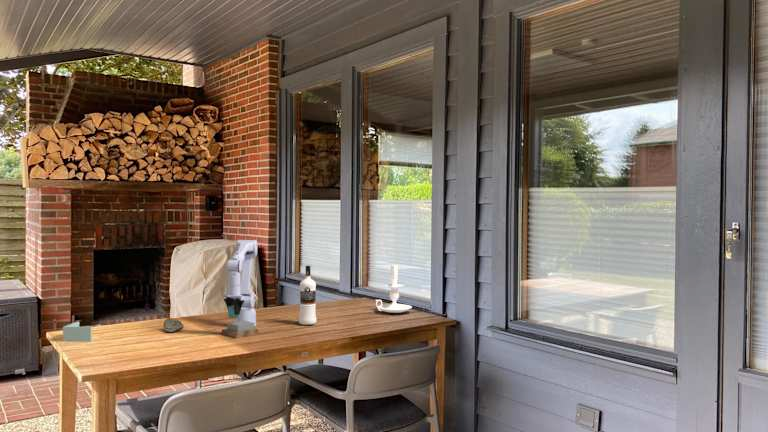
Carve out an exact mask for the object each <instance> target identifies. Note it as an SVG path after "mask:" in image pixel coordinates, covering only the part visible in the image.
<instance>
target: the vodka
mask: <svg viewBox="0 0 768 432" xmlns="http://www.w3.org/2000/svg"><path fill="white" fill-rule="evenodd" d="M311 267H312V266H311V265H305V278H304V279H302V280H301V281H300V283H299V317H298V324H300V325H305V326H309V325H310V326H311V325H315V324H316V323H317V321H318V320H317V319H318V318H317V315H316V310H317V309H316V308H317V307H316V305H317V304H316V299H317V298H316V295H317V294H316V291H317V289H316V287H317V282H316V281H315V280H314V279H312V278H311V277H312V276H311Z"/></svg>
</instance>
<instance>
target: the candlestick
mask: <svg viewBox="0 0 768 432" xmlns="http://www.w3.org/2000/svg"><path fill="white" fill-rule="evenodd" d="M390 268H391V276H390V277H391V280H390V282H391V283H387V284H384V286H385V287H386V288H387V287H388V288H390V289H391V290H390V292H389V299H390V300H391V301H392V302H391V303H383V301H382V299H375V307H376V308H377V311H379V312H384V313H390V314H400V313H405V312H408V311H409V310H410V309H412V308H413V306H412V305H409V304H404V303H403V304H402V303H397V301H398V299H399V298H400V293H399V291H398V288H402V287H404V286H405V284H399V283H398V278H399V277H398V276H399V275H398V274H399V272H398V271H399V270H398V269H399V266H398V264H392V265H391V267H390ZM378 302H380V304H379V305H378Z"/></svg>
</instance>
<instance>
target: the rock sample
mask: <svg viewBox="0 0 768 432" xmlns="http://www.w3.org/2000/svg"><path fill="white" fill-rule="evenodd" d="M184 328H185V327H184V324H182V321H180V320H178V319H173V318H171V317H167V318H166V319H165V320H164V322H163V329H164V331H166V332H169V333H172V332H173V333H174V332H179V331H181V330H183V329H184Z"/></svg>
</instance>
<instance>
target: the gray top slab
mask: <svg viewBox="0 0 768 432" xmlns="http://www.w3.org/2000/svg"><path fill="white" fill-rule="evenodd" d="M254 328H255V326H254V323H253V322H249V321H244V320H242V321H236V320H235V321H232V322H231V321H230V322H227V323H226V329H228V330H232V331H236V332H241V331H247V330H253V329H254Z"/></svg>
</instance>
